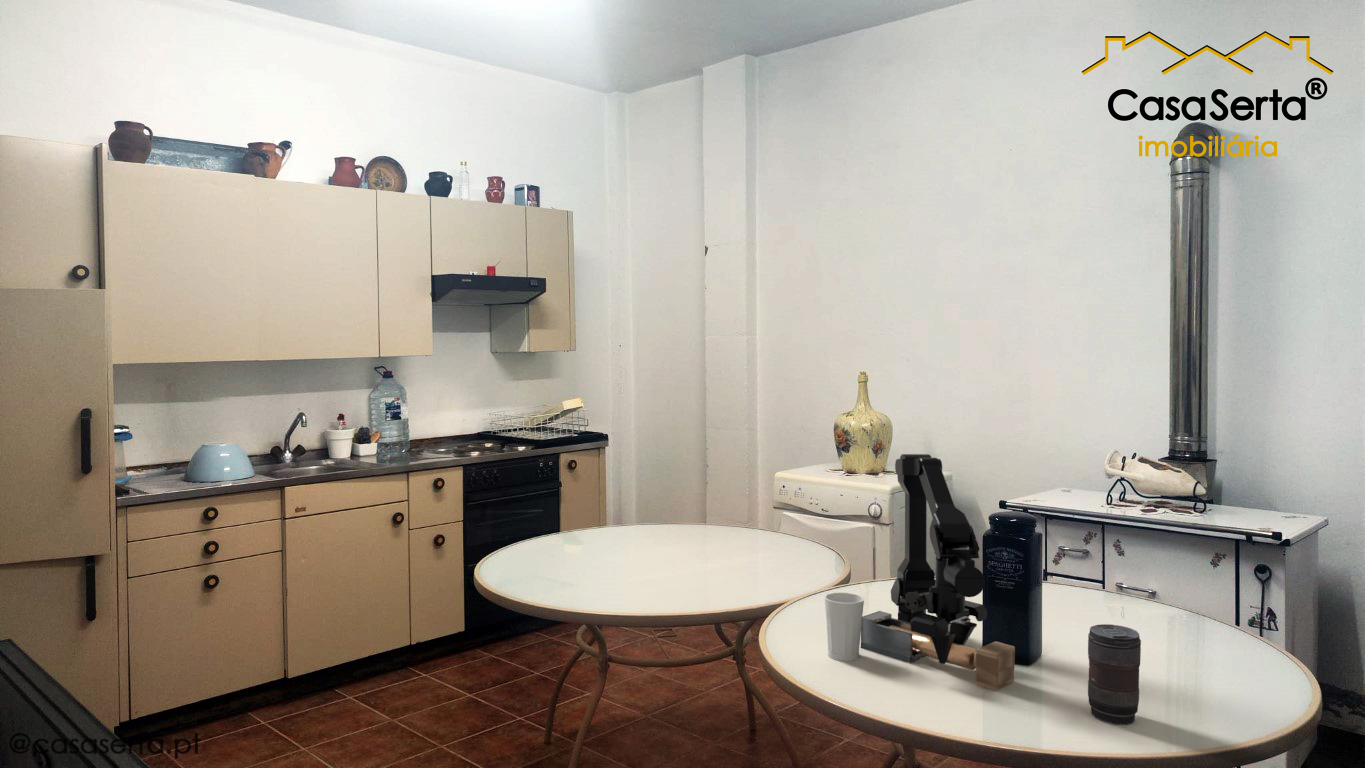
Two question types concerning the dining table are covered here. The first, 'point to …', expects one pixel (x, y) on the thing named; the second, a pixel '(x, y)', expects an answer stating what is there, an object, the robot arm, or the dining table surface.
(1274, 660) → the dining table surface
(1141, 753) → the dining table surface
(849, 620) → the cup
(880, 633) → the grey channel holder
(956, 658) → the tube
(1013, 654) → the socket
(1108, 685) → the camera lens
